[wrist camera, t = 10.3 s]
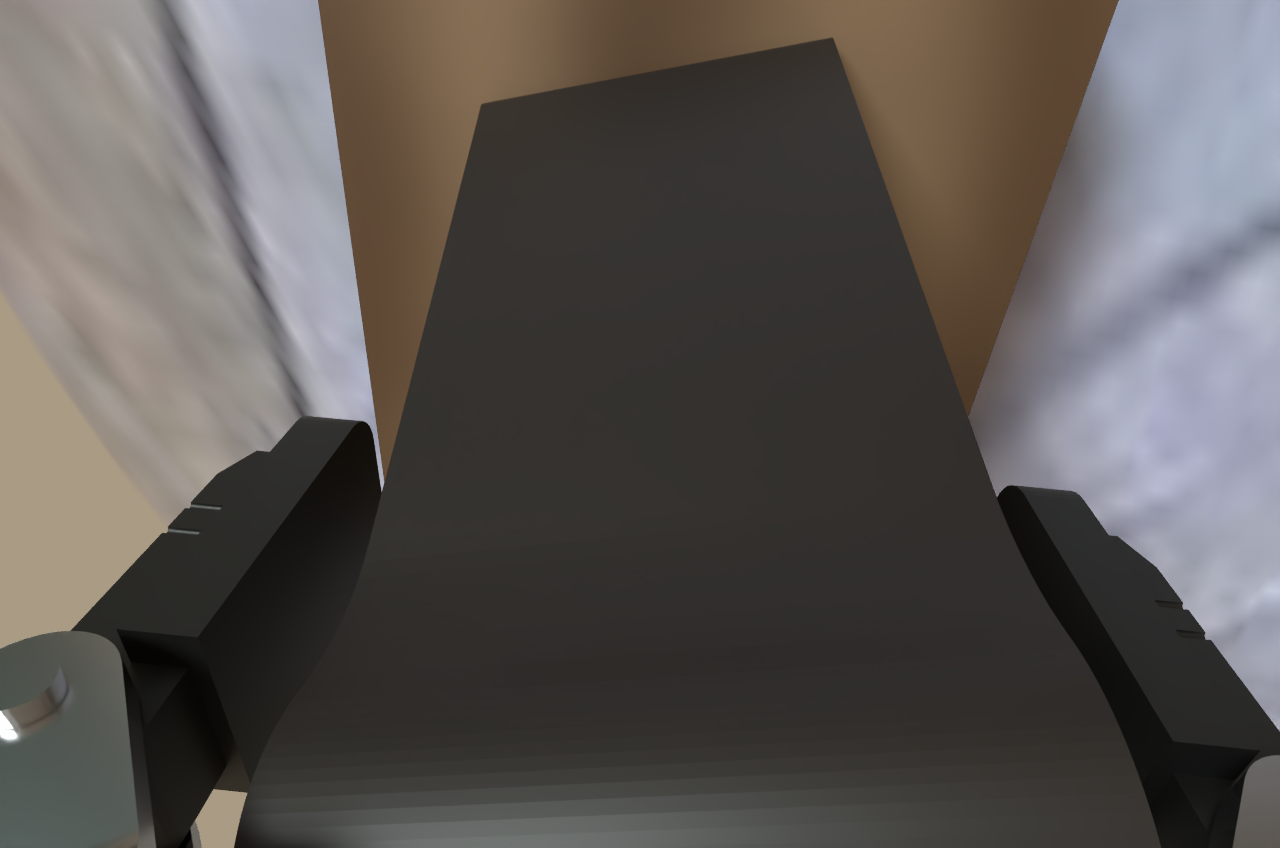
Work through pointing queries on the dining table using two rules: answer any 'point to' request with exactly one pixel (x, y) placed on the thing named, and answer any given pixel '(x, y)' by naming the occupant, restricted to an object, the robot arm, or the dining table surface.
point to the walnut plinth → (697, 32)
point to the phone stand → (690, 519)
